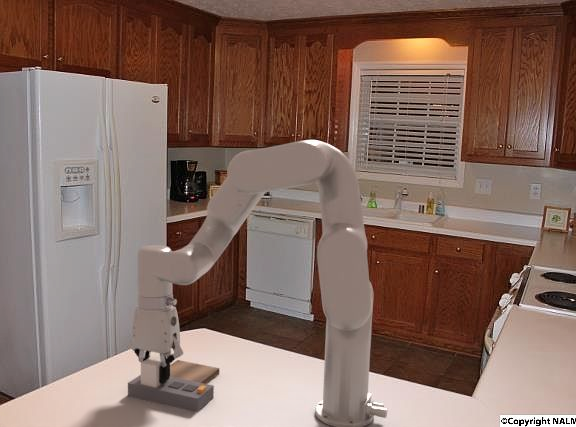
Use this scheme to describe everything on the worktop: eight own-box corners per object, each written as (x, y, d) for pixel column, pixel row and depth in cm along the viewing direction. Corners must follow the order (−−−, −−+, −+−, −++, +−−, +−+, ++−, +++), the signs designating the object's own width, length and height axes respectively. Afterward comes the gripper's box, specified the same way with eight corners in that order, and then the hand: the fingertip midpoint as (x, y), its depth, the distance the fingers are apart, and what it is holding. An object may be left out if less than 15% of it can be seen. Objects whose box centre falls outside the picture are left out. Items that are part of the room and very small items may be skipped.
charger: (169, 384, 132) (169, 357, 132) (156, 393, 127) (155, 366, 126) (155, 380, 134) (155, 354, 133) (140, 390, 129) (140, 362, 128)
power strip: (213, 398, 129) (213, 382, 129) (197, 411, 123) (197, 395, 122) (146, 383, 136) (146, 368, 135) (127, 395, 129) (127, 379, 129)
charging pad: (219, 374, 142) (219, 368, 142) (198, 390, 133) (198, 384, 133) (177, 365, 147) (177, 359, 146) (154, 380, 137) (154, 374, 137)
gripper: (196, 301, 128) (196, 379, 131) (134, 292, 134) (135, 366, 137) (178, 311, 121) (178, 393, 124) (113, 300, 127) (114, 378, 130)
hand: (155, 378), depth 130 cm, fingers closed on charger, 4 cm apart
